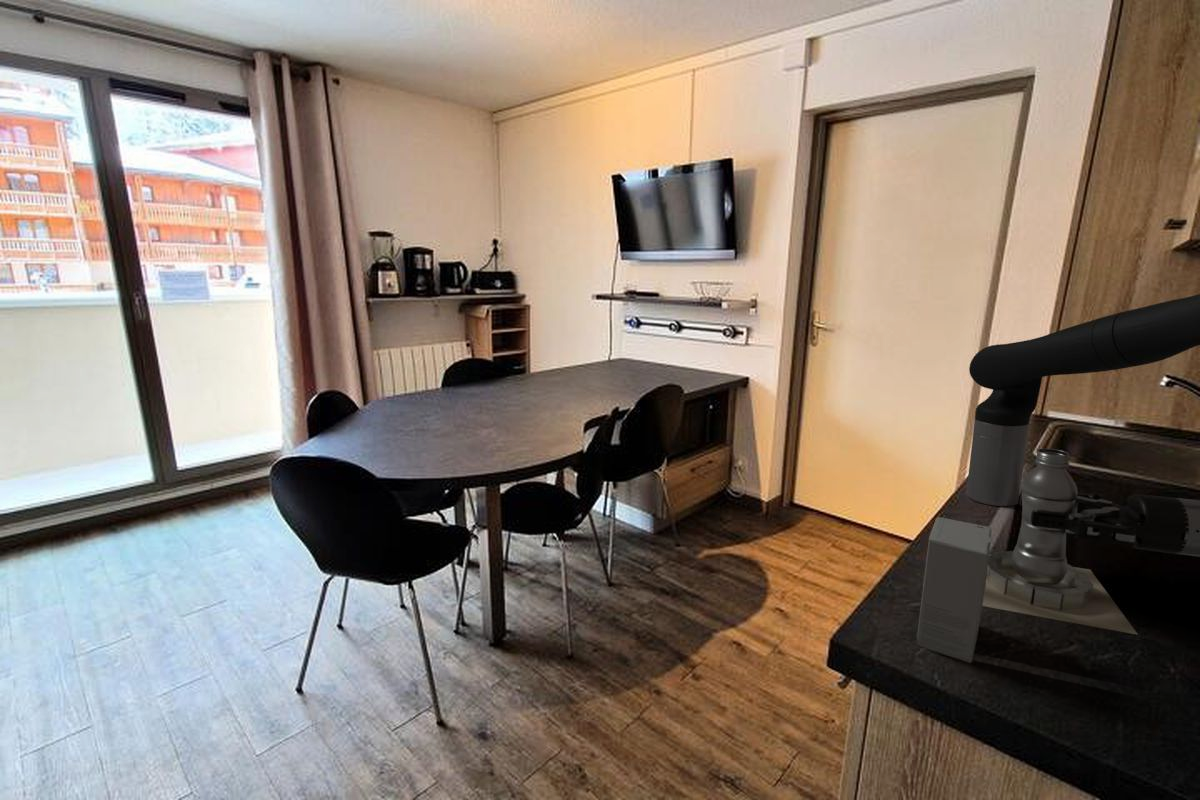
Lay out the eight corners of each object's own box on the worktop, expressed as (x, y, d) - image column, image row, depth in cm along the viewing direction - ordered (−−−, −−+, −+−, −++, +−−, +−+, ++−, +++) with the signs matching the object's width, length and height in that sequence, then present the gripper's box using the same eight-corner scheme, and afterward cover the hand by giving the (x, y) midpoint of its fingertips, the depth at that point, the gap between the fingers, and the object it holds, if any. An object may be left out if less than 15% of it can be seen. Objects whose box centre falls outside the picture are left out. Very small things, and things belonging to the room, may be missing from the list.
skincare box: (924, 616, 79) (935, 514, 76) (980, 632, 75) (994, 526, 72) (914, 647, 73) (925, 537, 69) (975, 667, 69) (989, 551, 65)
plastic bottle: (1044, 568, 87) (1060, 445, 83) (1076, 591, 80) (1095, 459, 76) (1000, 567, 87) (1014, 445, 83) (1028, 590, 81) (1044, 459, 77)
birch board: (956, 554, 96) (956, 549, 96) (1089, 575, 88) (1090, 569, 88) (973, 610, 80) (973, 604, 80) (1136, 641, 72) (1138, 634, 72)
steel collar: (979, 559, 92) (980, 545, 92) (1073, 574, 87) (1075, 559, 86) (993, 598, 81) (995, 582, 81) (1102, 617, 76) (1105, 601, 75)
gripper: (1157, 482, 81) (1017, 469, 88) (1210, 521, 68) (1042, 502, 75) (1149, 529, 82) (1012, 513, 90) (1199, 576, 70) (1035, 553, 77)
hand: (1026, 508), depth 82 cm, fingers closed on plastic bottle, 6 cm apart
